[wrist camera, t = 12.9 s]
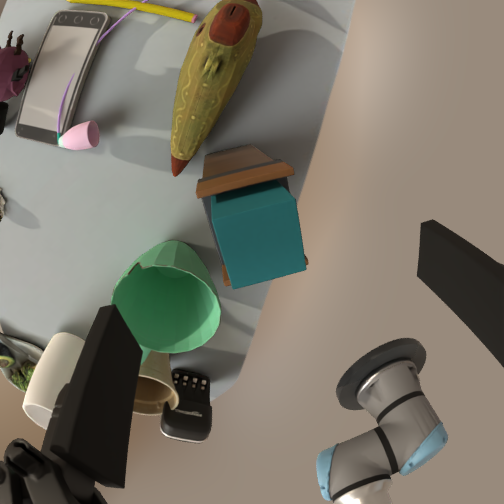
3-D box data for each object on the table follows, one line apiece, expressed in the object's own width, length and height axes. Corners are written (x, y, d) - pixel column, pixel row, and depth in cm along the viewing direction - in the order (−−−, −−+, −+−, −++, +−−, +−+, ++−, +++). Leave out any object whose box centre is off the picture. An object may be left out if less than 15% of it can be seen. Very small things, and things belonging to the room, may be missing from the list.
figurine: (8, 152, 20) (38, 41, 14) (-47, 143, 15) (-26, 34, 9) (26, 122, 25) (56, 33, 19) (-22, 114, 19) (3, 24, 13)
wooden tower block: (262, 194, 31) (292, 241, 20) (218, 205, 30) (224, 259, 20) (251, 143, 28) (277, 162, 17) (204, 155, 28) (201, 181, 17)
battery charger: (214, 373, 41) (214, 434, 31) (208, 387, 43) (208, 446, 32) (170, 363, 40) (160, 424, 30) (166, 378, 41) (157, 437, 31)
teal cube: (288, 238, 19) (306, 270, 15) (227, 254, 19) (233, 290, 15) (276, 179, 17) (295, 198, 13) (210, 196, 17) (211, 219, 13)
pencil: (198, 16, 21) (197, 13, 20) (193, 24, 21) (193, 21, 20) (66, -4, 16) (63, -7, 15) (62, 3, 16) (58, 1, 15)
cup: (44, 323, 34) (9, 395, 21) (90, 326, 35) (60, 407, 22) (63, 362, 38) (39, 431, 25) (106, 366, 39) (89, 442, 26)
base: (295, 243, 20) (308, 264, 17) (222, 262, 20) (224, 286, 17) (280, 158, 17) (293, 167, 15) (197, 179, 17) (195, 191, 14)
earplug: (71, 167, 22) (87, 167, 25) (272, -31, 17) (273, -16, 19) (36, 123, 21) (52, 126, 24) (214, -56, 16) (219, -42, 19)
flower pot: (106, 329, 35) (92, 376, 28) (168, 320, 36) (164, 371, 29) (131, 371, 40) (125, 416, 32) (187, 365, 41) (188, 412, 33)
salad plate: (69, 343, 36) (60, 364, 32) (89, 405, 43) (84, 423, 39) (-17, 317, 32) (-29, 333, 28) (12, 381, 39) (5, 397, 35)
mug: (156, 203, 29) (135, 242, 20) (233, 246, 33) (243, 298, 24) (108, 299, 34) (86, 354, 25) (174, 330, 37) (169, 389, 28)
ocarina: (200, 180, 29) (196, 212, 20) (151, 166, 27) (124, 191, 18) (272, 9, 21) (300, -31, 12) (222, -8, 20) (229, -54, 11)
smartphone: (110, 13, 18) (61, 147, 23) (113, 16, 19) (65, 146, 24) (56, 9, 16) (13, 136, 21) (60, 12, 17) (18, 134, 22)
